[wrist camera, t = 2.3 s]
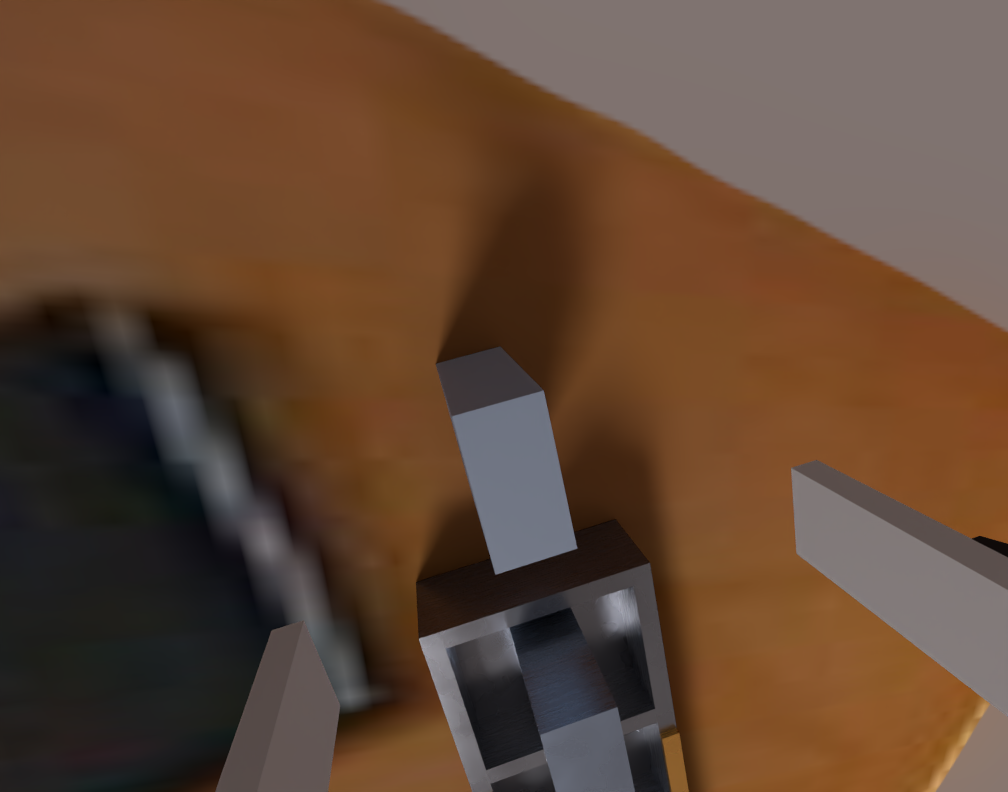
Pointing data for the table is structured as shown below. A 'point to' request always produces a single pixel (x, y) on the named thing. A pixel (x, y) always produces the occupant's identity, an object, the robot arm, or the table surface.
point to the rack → (555, 671)
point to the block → (508, 458)
